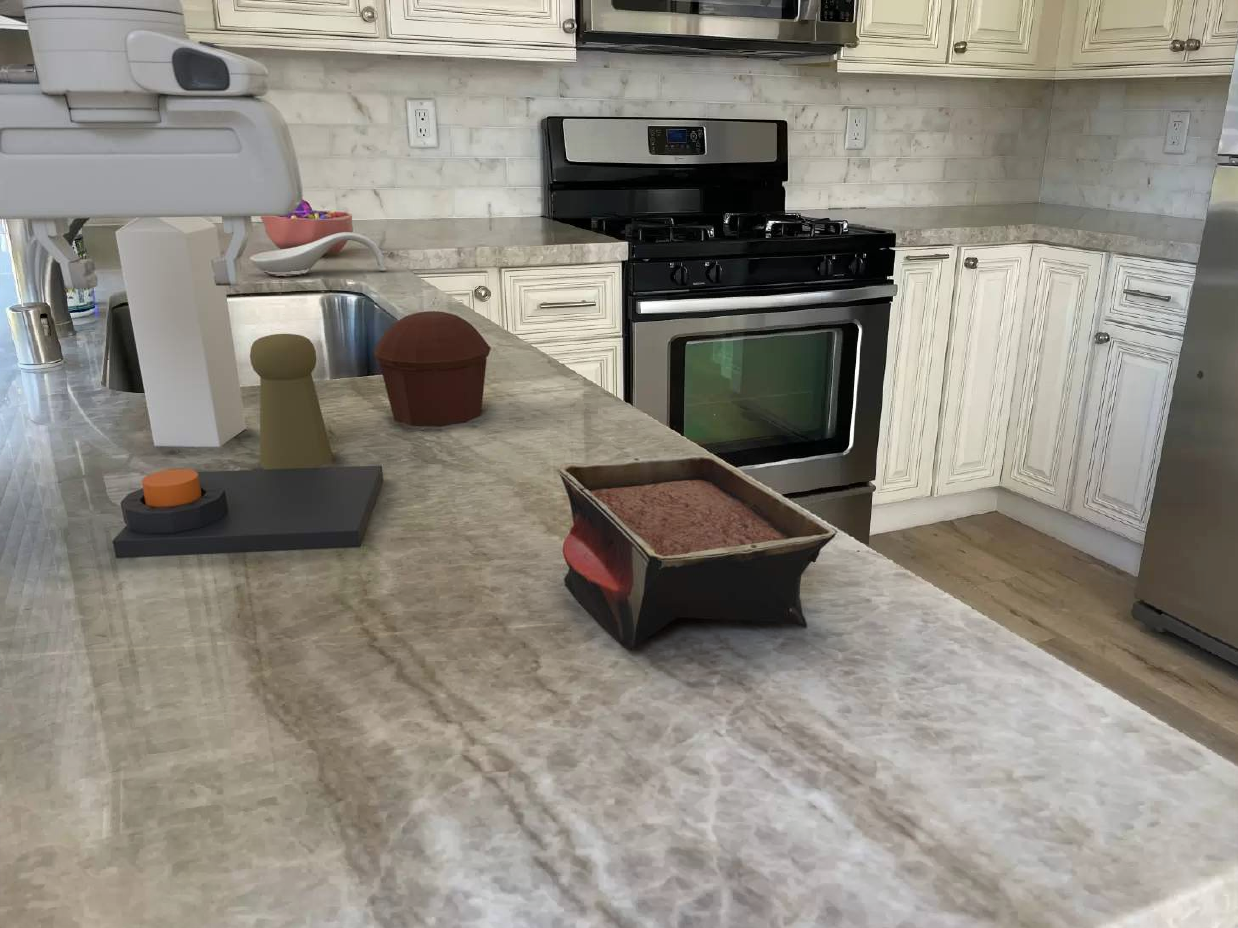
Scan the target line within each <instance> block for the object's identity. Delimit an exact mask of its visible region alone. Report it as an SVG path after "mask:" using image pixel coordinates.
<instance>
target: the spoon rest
mask: <svg viewBox="0 0 1238 928" xmlns="http://www.w3.org/2000/svg"><path fill="white" fill-rule="evenodd" d="M346 240H348V241H354V242H356V243H357V242H358V243H360V244H363V245H364V246H366V247H368V248H369V249H370V250H371V251H372V253H373V255H374V256H375V259H376V263H377V266H379V267H380V268H386V270H380V271H382V272H386V271H387V264H386V263H387V262H386V260H385V257H384V255H383V253H382V251H381V249H380V248H379V247H378V245H377V243H375V242H374V240H372V239H370V238H368V237H366V236H365V235H362V234H359V233H356V232H352V233H351V232H342V233H337V234H333V235H330V236H327V237H325V238H322V239H320V240H317V241H315V242H312V243H309V244H306V245H302V246H299V247H294V248H288V249H282V250H281V249H276V250H270V251H264V252H259V253H256V254H253V255H251V256H250V258H249V260H250V262H251V263H252V264H253V265H254V266H255V267H256V268H257V269H258V270H260V271H261V270H262V272H263V271H268V272H291V271H301V270H307V269H310V268H311V269H312V268H313V267H314V266H315V265H316V264H317V263H318V262H319V260H320V259H321V258H322V257H323V256H324V255H325V254H324V253H326V252H327V251H328V250H329V249H330V248H331V247H332V246H333V245H335V244H337V243H339V242H341V241H346ZM323 254H324V255H323ZM379 267H378V268H379ZM311 269H310V270H311ZM301 274H304V275H306V274H308V272H306V273H300V274H286V275H299V276H302V275H301ZM270 275H271V276H273V275H276V274H270Z"/></svg>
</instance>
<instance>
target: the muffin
mask: <svg viewBox="0 0 1238 928" xmlns="http://www.w3.org/2000/svg"><path fill="white" fill-rule="evenodd" d="M491 350H492V347H491V346H490V345H489V344H488V342H487V341H486V340H485V338H484V337H483V335H481V334H480V332H479V331H478V330H477V328H476V327H475V326H473V325H472V324H471V323H470V322H468V321H467V320H466V319H464V318H462V317H461V316H459V315H457V314H454V313H450V312H445V311H439V310H438V311H437V310H435V311H434V310H433V311H432V310H429V311H427V310H426V311H419V312H414V313H412V314H407V315H405V316H404V317H402V318H401V319H399V320H398V321H396V322H395V323H394V324H392V325H391V326H390V327H388V329H386V331H385V332H384V334H383V335H382V336H381V338H380V339H379V341H378V342H377V344H376V346H375V348H374V349H373V350H372V352H373V355H374V357H375V359H376V360H377V362H378V363H379V366H380V370H381V371H380V372H381V374H382V377H383V383H384V385H385V391H386V393H387V397H388V402H389V405H390V406H389V407H390V409H391V414H392V417H393V420H394V421H396V422H401V423H404V424H407V425H410V426H428V427H429V426H431V427H442V426H449V425H454V424H462V423H467V422H469V421H471V420H472V419H475V418H477V417H479V416H482V407H483V399H484V391H485V390H484V389H485V380H486V370H487V369H486V368H487V359H488V358H487V357H489V356H490V353H491Z"/></svg>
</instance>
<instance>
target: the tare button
mask: <svg viewBox="0 0 1238 928" xmlns="http://www.w3.org/2000/svg"><path fill="white" fill-rule="evenodd" d="M197 472H198V471H196V470H194V469H187V468H173V469H165V470H160V471H155V472H153V473H150V474H147V475H146V476H144V477H143V478H142V479H141V486H142V488H143V491H144V497H145V502H146V505H149V506H155V507H161V506H176V505H181V504H186V503H190V502H192V501H195V500H197V499H199V498H202V494H201V488H200V482H199V476H198V473H197Z"/></svg>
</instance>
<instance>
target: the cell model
mask: <svg viewBox="0 0 1238 928" xmlns="http://www.w3.org/2000/svg"><path fill="white" fill-rule="evenodd" d="M259 218H260V220H261V221H262V223H263V226H264V229H265V233H266V235H267V237H268V238H269V239H270V240H271V242H272V244H274V245H275V247H277V248H278V249H279V250H282V249H288V248H294V247H299V246H302V245H306V244H309V243H312V242H315V241H317V240H320V239H322V238H325V237H327V236H330V235H333V234H337V233H342V232H351V233H354V228H353V214H352V213H349V212H348V211H334V210H315V209H314V210H313V208H312V207H311V204H310V203H309V202H308V201H307V200H304V199H303V198H302V201H301V203H300V205H299V206H298V207H297V209H296V210H295V211H294V212H292V213H291V214H288V215H284V216H259ZM348 241H349V240H346V241H341V242H339V243H337V244H335V245H333V246H332V247H331V248H330V249H329V250H328V251H327V252H326V253H324V254H323V256H324V255H328V254H327V253H330V254H329V255H331V254H334V253H338V252H340V251H341V250H342V249H343V248H344V247H345V246H346V244H347V243H348Z"/></svg>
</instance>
